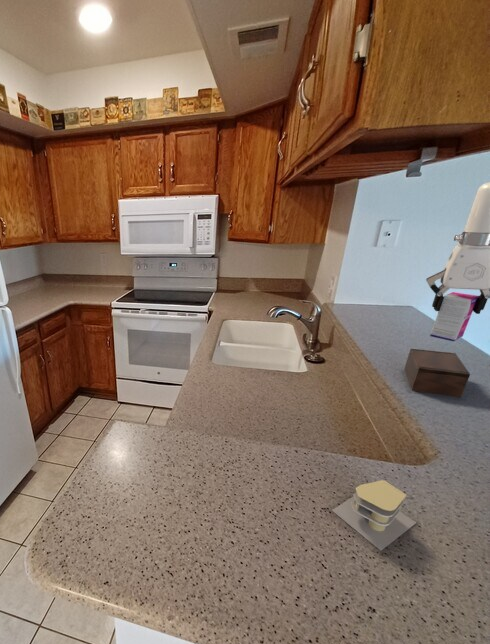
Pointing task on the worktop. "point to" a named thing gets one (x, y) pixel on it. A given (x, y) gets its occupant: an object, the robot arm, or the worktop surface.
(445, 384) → the dark wooden box
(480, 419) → the worktop surface
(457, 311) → the supplement box
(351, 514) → the stacked layers on plate
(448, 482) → the worktop surface
